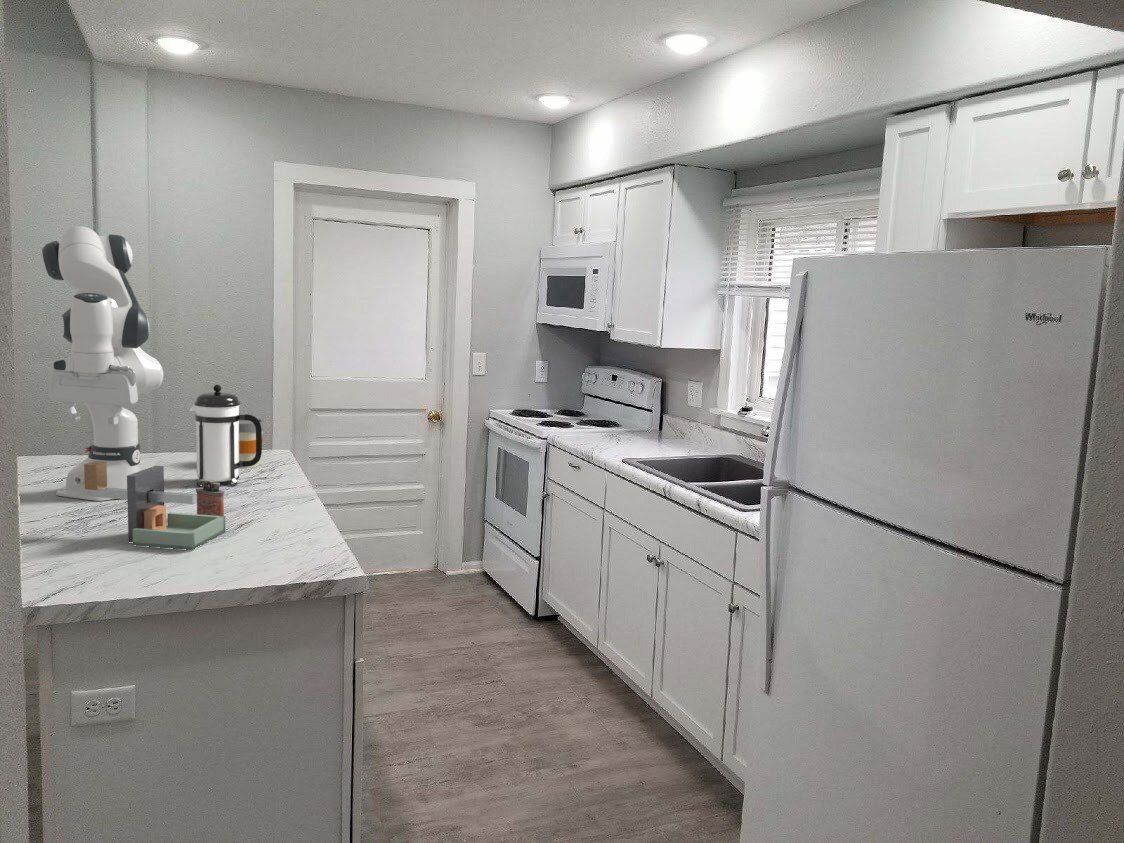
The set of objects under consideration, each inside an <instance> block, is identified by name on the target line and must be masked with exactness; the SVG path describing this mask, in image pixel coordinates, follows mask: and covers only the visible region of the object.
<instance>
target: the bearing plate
mask: <svg viewBox="0 0 1124 843" xmlns="http://www.w3.org/2000/svg"><path fill="white" fill-rule="evenodd" d="M164 469H165V468H164V465H153V466H150V467H148V468H144V469H142V470H140V471H139V472H136V473H133V474H130V475H127V499H126V500H127V534H128V539H127V540H128V541H127V542H128V543H129V542H133V529H135V528H141V529H144V511H146V510H148V509H150V508H153V507H155V506H157V505H162V506H165V502H155V501H147V491H162V492H165V470H164Z"/></svg>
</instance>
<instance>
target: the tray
mask: <svg viewBox="0 0 1124 843" xmlns="http://www.w3.org/2000/svg"><path fill="white" fill-rule="evenodd" d="M166 515H167V524H166V530H154V529H141V528H135V529H133V543H132V546H133V545H136V546H149V547H160V548H173V549H186V550H193V549H195V548H196V547H198V546H200V545H202V544H204V543H206V542H207V541H209V540H211V541H213V540H214V539H216V538H218V537H220V536H221V535H223V534H225V533H226V516H225V515H224V516H213V515H200V514H197V513H186V512H185V513H182V512H170V511H169V512H168V513H167V512H166ZM219 535H220V536H219ZM217 536H218V537H217ZM212 539H213V540H212ZM209 542H210V541H209ZM207 543H208V542H207ZM207 543H206V544H207ZM204 545H205V544H204ZM202 546H203V545H202ZM200 547H201V546H200ZM160 548H159V549H160ZM198 548H199V547H198ZM173 549H172V550H173ZM186 550H185V551H186ZM195 550H196V549H195ZM193 551H194V550H193Z"/></svg>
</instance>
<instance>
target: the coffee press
mask: <svg viewBox="0 0 1124 843" xmlns="http://www.w3.org/2000/svg"><path fill="white" fill-rule="evenodd" d="M212 389H213V390H214V391H213V392H204V393H202V394H199V395H198V396H197V398H196V400H195V401H194V404H193V405H192V406H191V407H190V409H189V412H195V414H194V421H195V426H196V427H195V431H196V432H195V434H196V436H195V438H196V441H195V442H196V476H197V478H198V480H197V482H196V486H197V487H200V485H199V480H208V481H211V480H214V481H215V482H217V483H220V482H228V483H229V485H230V486H231V485H233V486H232V487H236V486H238V479H240V468H239V467H247V466H253V465H255V464H256V463H258V462H259V463H260V460H261V459H262V458H261V457H262V454H263V452H262V451H263V443H262V437H263V433H262V428H261V424H260V422H259V420H258V419H259V418H257V417H256V416H255V415H252V414H248V413H247V414H240V405H241V401H240V400H239V398H238V397H237V396H236V395H235V394H233V393H230V392H222V391H221V390H222V389H223V387H222V386H221V385H220V384H215V385H213V388H212ZM239 420H249V421H251V422H253V423H254V425H255V428H256V455H255V457H254V458H253V459H252V460H250V461H240V460H239ZM235 485H236V486H235ZM202 487H203V485H202Z"/></svg>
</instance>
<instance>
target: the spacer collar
mask: <svg viewBox="0 0 1124 843" xmlns="http://www.w3.org/2000/svg"><path fill="white" fill-rule="evenodd" d="M166 526H167V506H166V505H164V506H162V505H157V506H155V507H153V508H150V509H148V510H146V511H144V529H154V530H166Z"/></svg>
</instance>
